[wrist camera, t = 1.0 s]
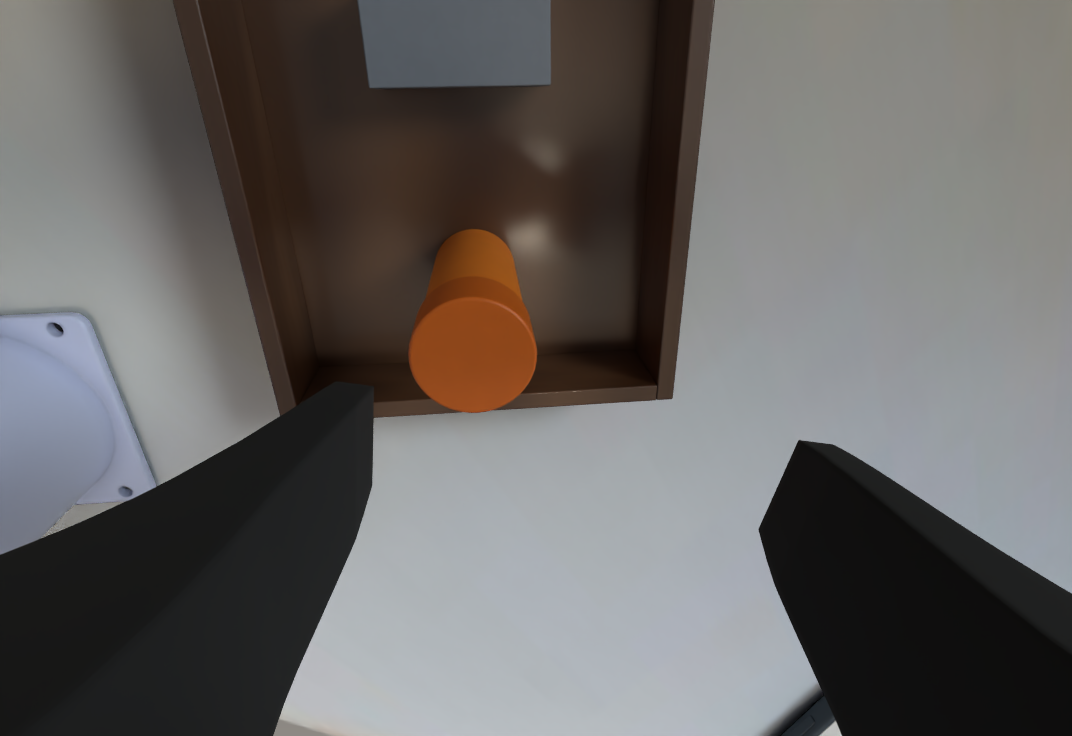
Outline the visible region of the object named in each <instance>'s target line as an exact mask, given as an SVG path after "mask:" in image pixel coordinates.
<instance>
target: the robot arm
mask: <svg viewBox="0 0 1072 736" xmlns="http://www.w3.org/2000/svg"><path fill="white" fill-rule="evenodd" d="M54 323H57V324H58V325H60V326H61V327H62V329H63V332H61V331H59V330H57V329H56V327H55V326H54ZM373 412H374V386H368V385H361V384H353V383H345V382H337V381H336V382H334V383H332V384H330V385H329V386H327V387H325V388H324V389H322V390H321V391H319V392H317V393H316V394H314V395H313V396H311V397H310V398H308V399H306V400H305V401H303V402H302V403H300V404H299V405H297V406H296V407H294V408H292V409H291V410H289V411H288V412H286V413H285V414H283V415H281V416H280V417H278V418H277V419H275V420H273V421H272V422H270V423H268V424H267V425H265V426H264V427H262V428H260V429H259V430H257V431H256V432H254V433H252V434H251V435H249V436H247V437H246V438H244V439H243V440H241V441H239V442H237V443H236V444H234V445H232V446H230V447H228V448H227V449H225V450H223V451H221V452H219V453H218V454H216V455H214V456H212V457H210V458H209V459H207V460H205V461H203V462H202V463H200V464H198V465H196V466H194V467H193V468H191V469H189V470H187V471H185V472H184V473H182V474H180V475H178V476H176V477H175V478H173V479H171V480H169V481H167V482H165V483H163V484H161V485H159V486H157V487H156V483H155V481H154V478H153V476H152V473H151V471H150V468H149V466H148V463H147V461H146V458H145V456H144V453H143V451H142V448H141V446H140V443H139V441H138V438H137V436H136V433H135V431H134V428H133V426H132V423H131V421H130V418H129V416H128V413H127V411H126V408H125V406H124V403H123V401H122V398H121V396H120V393H119V391H118V389H117V386H116V384H115V381H114V379H113V376H112V374H111V371H110V369H109V366H108V364H107V361H106V359H105V356H104V354H103V351H102V349H101V346H100V344H99V341H98V339H97V336H96V334H95V331H94V329H93V326H92V324H91V322H90V321H89V319H87V318H86V317H85V316H84V315H82V314H79V313H76V312H58V313H36V314H15V315H0V736H273V734H274V731H275V729H276V725H277V722H278V720H279V717H280V714H281V711H282V708H283V705H284V703H285V700H286V698H287V695H288V693H289V690H290V688H291V685H292V683H293V680H294V678H295V675H296V673H297V670H298V668H299V666H300V664H301V661H302V659H303V657H304V655H305V652H306V650H307V648H308V646H309V643H310V641H311V639H312V637H313V635H314V632H315V630H316V628H317V626H318V623H319V621H320V619H321V617H322V614H323V612H324V610H325V608H326V606H327V603H328V601H329V599H330V597H331V594H332V592H333V590H334V588H335V585H336V583H337V581H338V579H339V576H340V574H341V572H342V570H343V567H344V565H345V563H346V561H347V558H348V556H349V554H350V551H351V549H352V547H353V545H354V542H355V540H356V537H357V534H358V531H359V527H360V524H361V521H362V518H363V515H364V511H365V508H366V505H367V501H368V498H369V494H370V491H371V488H372V468H373ZM125 487H128V488H130V489H131V490H132V491H131V490H128V489H126V488H125ZM121 501H126V502H124V503H122V504H120V505H117V506H115V507H113V508H111V509H109V510H106V511H104V512H102V513H100V514H98V515H96V516H93V517H91V518H89V519H87V520H85V521H82V522H80V523H78V524H75V525H73V526H71V527H68V528H66V529H64V530H61V531H59V532H56V533H54V534H51V535H49V536H46V537H44V538H41V537H42V536H43V535H44V534H45V533H46V532H47V531H48V530H49V529H50V528H51V527H52V526H53V525H54V524H55V523H56V522H57V521H58V520H59V519H60V518H61V517H62V516H63V515H64V514H65V513H66V512H67V511H68V510H69V509H70V508H71V507H72V506H73V505H79V504H93V503H107V502H121ZM759 533H760V537H761V540H762V544H763V548H764V551H765V555H766V559H767V562H768V565H769V568H770V572H771V575H772V578H773V581H774V584H775V587H776V589H777V591H778V594H779V596H780V598H781V601H782V603H783V605H784V607H785V610H786V612H787V614H788V616H789V619H790V621H791V623H792V625H793V628H794V630H795V632H796V634H797V637H798V639H799V641H800V643H801V645H802V648H803V650H804V652H805V654H806V656H807V658H808V661H809V663H810V665H811V667H812V669H813V672H814V674H815V676H816V678H817V680H818V683H819V685H820V687H821V689H822V691H823V694H824V696H825V698H826V700H827V702H828V705H829V707H830V709H831V711H832V713H833V716H834V718H835V720H836V723H837V725H838V727H839V730H840V732H841V735H842V736H1072V593H1070V592H1068V591H1066V590H1065V589H1063V588H1061V587H1059V586H1058V585H1056V584H1054V583H1053V582H1051V581H1049V580H1048V579H1046V578H1045V577H1043V576H1041V575H1040V574H1038V573H1036V572H1035V571H1033V570H1031V569H1030V568H1028V567H1027V566H1025V565H1023V564H1022V563H1020V562H1018V561H1017V560H1015V559H1013V558H1012V557H1010V556H1009V555H1007V554H1005V553H1004V552H1002V551H1000V550H999V549H997V548H996V547H994V546H993V545H991V544H989V543H988V542H986V541H985V540H983V539H982V538H980V537H978V536H977V535H975V534H974V533H972V532H971V531H969V530H968V529H966V528H965V527H963V526H961V525H960V524H958V523H957V522H955V521H954V520H952V519H951V518H949V517H948V516H946V515H945V514H943V513H942V512H940V511H939V510H937V509H936V508H934V507H933V506H931V505H930V504H928V503H926V502H925V501H923V500H922V499H920V498H919V497H917V496H916V495H914V494H913V493H911V492H910V491H908V490H907V489H905V488H904V487H902V486H901V485H899V484H898V483H896V482H895V481H893V480H892V479H890V478H889V477H887V476H885V475H884V474H882V473H881V472H879V471H878V470H876V469H874V468H873V467H871V466H870V465H868V464H866V463H865V462H863V461H862V460H860V459H858V458H857V457H855V456H853V455H851V454H850V453H848V452H846V451H844V450H842V449H840V448H838V447H837V446H835V445H832V444H824V443H817V442H809V441H801V440H799V441H798V443H797V445H796V447H795V449H794V452H793V454H792V456H791V458H790V461H789V463H788V465H787V467H786V469H785V472H784V474H783V476H782V478H781V481H780V483H779V485H778V487H777V489H776V492H775V494H774V496H773V498H772V501H771V503H770V505H769V507H768V509H767V512H766V514H765V516H764V518H763V521H762V523H761V525H760V527H759ZM40 538H41V539H40Z"/></svg>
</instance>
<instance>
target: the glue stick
mask: <svg viewBox="0 0 1072 736" xmlns="http://www.w3.org/2000/svg"><path fill="white" fill-rule="evenodd" d="M408 359H409V365H410V369H411V372H412V375H413V377H414V379H415V381H416V382H417V384H418V385H419V387H420V388H421V389H422V390H423V391H424V392H425V394H426V395H428V396H429V397H430V398H431V399H432V400H434V401H435V402H437V403H438V404H440V405H442V406H444V407H446V408H449V409H452V410H456V411H460V412H468V413H478V412H486V411H490V410H494V409H497V408H499V407H502V406H504V405H506V404H508V403H509V402H511V401H512V400H514V399H515V398H516V397H517V396H518V395H519V394H520V393H521V392H522V391H523V390H524V389H525V388H526V386H527V385H528V383H529V382H530V380H531V378H532V376H533V373H534V371H535V367H536V362H537V347H536V342H535V338H534V333H533V329H532V325H531V321H530V316H529V314H528V311H527V309H526V307H525V305H524V303H523V301H522V297H521V292H520V287H519V283H518V278H517V273H516V269H515V264H514V260H513V256H512V254H511V251H510V250H509V248H508V247H507V245H506V244H505V243H504V242H503V241H502V240H501V239H500V238H499V237H498V236H496V235H494V234H492V233H490V232H488V231H484V230H479V229H468V230H463V231H460V232H457V233H455V234H454V235H452V236H451V237H449V238H448V239H447V240H446V241H445V242H444V243H443V244H442V246H441V247H440V249H439V251H438V253H437V255H436V259H435V263H434V267H433V271H432V275H431V279H430V283H429V286H428V290H427V294H426V298H425V300H424V301H423V303H422V305H421V306H420V308H419V311H418V313H417V317H416V320H415V324H414V328H413V331H412V335H411V339H410V343H409V349H408Z"/></svg>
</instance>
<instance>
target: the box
mask: <svg viewBox="0 0 1072 736" xmlns="http://www.w3.org/2000/svg"><path fill="white" fill-rule="evenodd" d="M173 4H174V8H175V11H176V15H177V19H178V23H179V27H180V31H181V35H182V38H183V42H184V46H185V50H186V54H187V58H188V62H189V65H190V69H191V73H192V77H193V81H194V85H195V89H196V92H197V96H198V100H199V104H200V108H201V112H202V116H203V119H204V123H205V127H206V131H207V135H208V139H209V143H210V147H211V150H212V154H213V158H214V162H215V166H216V170H217V174H218V177H219V181H220V185H221V189H222V193H223V197H224V201H225V204H226V208H227V212H228V216H229V220H230V224H231V228H232V231H233V235H234V239H235V243H236V247H237V251H238V255H239V258H240V262H241V266H242V270H243V274H244V278H245V282H246V285H247V289H248V293H249V297H250V301H251V305H252V309H253V312H254V316H255V320H256V324H257V328H258V332H259V336H260V339H261V343H262V347H263V351H264V355H265V359H266V363H267V367H268V370H269V374H270V378H271V382H272V386H273V390H274V394H275V397H276V401H277V405H278V409H279V413H280V416H281V415H283V414H285V413H286V412H288V411H289V410H291V409H292V408H294V407H296V406H297V405H299V404H300V403H302V402H303V401H305V400H306V399H308V398H310V397H311V396H313V395H314V394H316V393H317V392H319V391H321V390H322V389H324V388H325V387H327V386H329V385H330V384H332V383H334V382H336V381H337V382H345V383H353V384H361V385H368V386H374V412H373V418H378V417H394V416H410V415H426V414H442V413H458V412H460V411H456V410H452V409H449V408H446V407H444V406H442V405H440V404H438V403H437V402H435V401H434V400H432V399H431V398H430V397H429V396H428V395H426V394H425V392H424V391H423V390H422V389H421V388H420V387H419V385H418V384H417V382H416V381H415V379H414V377H413V375H412V372H411V369H410V365H409V359H408V349H409V343H410V339H411V335H412V331H413V328H414V324H415V320H416V317H417V313H418V311H419V308H420V306H421V305H422V303H423V301H424V300H425V298H426V294H427V290H428V286H429V283H430V279H431V275H432V271H433V267H434V263H435V259H436V255H437V253H438V251H439V249H440V247H441V246H442V244H443V243H444V242H445V241H446V240H447V239H448V238H449V237H451V236H452V235H454V234H455V233H457V232H460V231H463V230H468V229H479V230H484V231H488V232H490V233H492V234H494V235H496V236H498V237H499V238H500V239H501V240H502V241H503V242H504V243H505V244H506V245H507V247H508V248H509V250H510V251H511V254H512V256H513V260H514V264H515V269H516V273H517V278H518V283H519V287H520V292H521V297H522V301H523V303H524V305H525V307H526V309H527V311H528V314H529V316H530V321H531V325H532V329H533V333H534V338H535V342H536V347H537V362H536V367H535V371H534V373H533V376H532V378H531V380H530V382H529V383H528V385H527V386H526V388H525V389H524V390H523V391H522V392H521V393H520V394H519V395H518V396H517V397H516V398H515V399H514V400H512V401H511V402H509V403H508V404H506V405H504V406H502V407H499V408H497V409H494V410H506V409H522V408H538V407H554V406H570V405H586V404H602V403H618V402H634V401H650V400H656V399H657V400H663V399H672V398H673V390H674V380H675V371H676V361H677V352H678V342H679V333H680V324H681V314H682V305H683V295H684V286H685V277H686V267H687V258H688V248H689V239H690V229H691V220H692V211H693V201H694V192H695V182H696V173H697V164H698V154H699V145H700V135H701V126H702V117H703V107H704V98H705V88H706V79H707V69H708V60H709V51H710V41H711V32H712V22H713V13H714V4H715V0H550V12H551V84H550V85H549V86H534V87H478V88H423V89H370V88H369V85H368V78H367V70H366V63H365V56H364V48H363V41H362V33H361V26H360V18H359V11H358V4H357V0H173Z"/></svg>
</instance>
